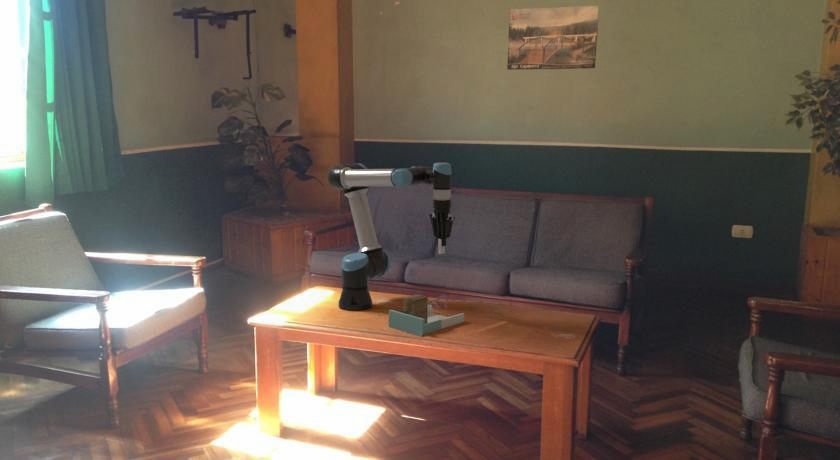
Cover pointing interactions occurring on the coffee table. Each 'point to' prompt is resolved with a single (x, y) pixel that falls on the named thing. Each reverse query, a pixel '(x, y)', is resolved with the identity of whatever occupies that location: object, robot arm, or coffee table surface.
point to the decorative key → (437, 302)
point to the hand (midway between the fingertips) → (441, 253)
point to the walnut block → (416, 306)
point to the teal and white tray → (422, 322)
